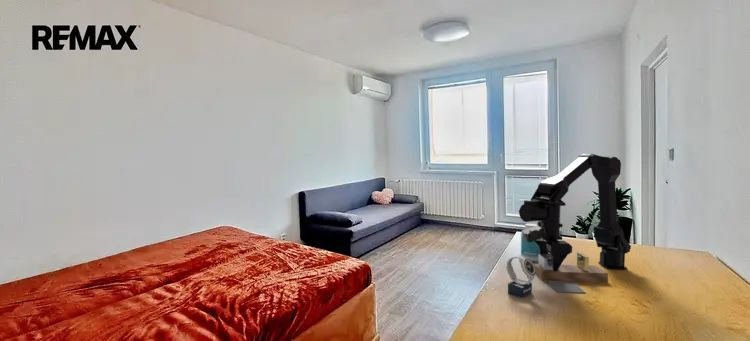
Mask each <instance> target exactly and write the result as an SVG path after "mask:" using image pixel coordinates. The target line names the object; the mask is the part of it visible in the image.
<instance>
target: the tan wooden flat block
mask: <svg viewBox="0 0 750 341" xmlns="http://www.w3.org/2000/svg"><path fill="white" fill-rule="evenodd" d="M576 253H577V254H576V265H577V266H578V267H580V268H581V269H582V270H584V271H588V269H589V265H590V262H589V261H590V257H589V256H588V255H586V254H585V253H583V252H581V251H576Z"/></svg>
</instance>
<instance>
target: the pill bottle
mask: <svg viewBox="0 0 750 341" xmlns="http://www.w3.org/2000/svg"><path fill="white" fill-rule="evenodd" d="M534 226H537V223H525V224H524V228H525V229H527V228H530V227H534ZM539 254H540V252H539V248H538V245H537V244H536V243H535V242H534V241H533V242H527V241H526V240H525V239H524V237H523V234H522V231H521V233H520V256H523V257H526V258H527V259H529V260H531V261H532V263H534V262H535V263H537V262H538V258H539Z"/></svg>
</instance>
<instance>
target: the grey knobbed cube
mask: <svg viewBox="0 0 750 341" xmlns="http://www.w3.org/2000/svg"><path fill="white" fill-rule="evenodd" d="M537 262H538V263H537V264H538V265H539V266H540V267H541V268H542V269H543V270H547V271H553V267H552V259H551V254H550V253H548V254H539V258H538V261H537ZM557 271H560V267H559V269H558V270H557Z"/></svg>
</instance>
